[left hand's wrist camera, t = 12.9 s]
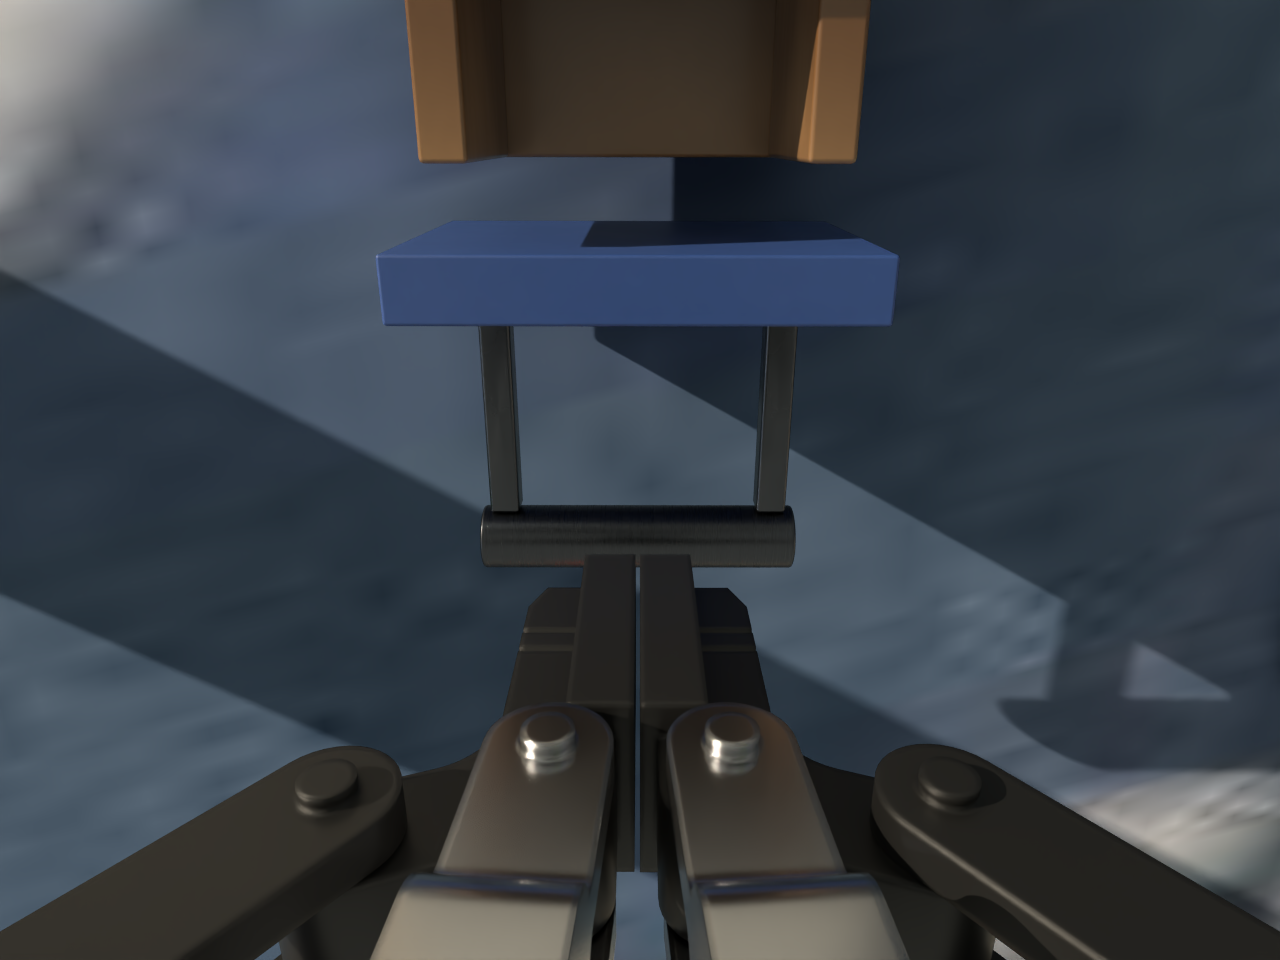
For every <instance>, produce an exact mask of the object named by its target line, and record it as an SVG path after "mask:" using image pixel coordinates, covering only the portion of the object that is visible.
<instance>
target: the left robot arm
mask: <svg viewBox="0 0 1280 960" xmlns="http://www.w3.org/2000/svg"><path fill="white" fill-rule="evenodd" d="M635 724H636V554H586V555H585V560H584V568H583V575H582V583H581V588H547V589H546V590H545V591H544V592H543V593H542V594H541V595H540V596H539V597H538V598H537V599H536V600H535V601H534V602H533V603H532V604H531V605H530V606H529V608H528V612H527V616H526V620H525V625H524V633H522V637H521V641H520V646H519V651H518V654H517V658H516V662H515V667H514V671H513V675H512V679H511V684H510V688H509V692H508V696H507V700H506V705H505V709H504V713H503V717H502V718H500V719H499V720H498V721H497V722H495V723H494V724H493V725H492V726H491V728H490V729H489V730H488V731H487V733H486V735H485V737H484V739H483V742H482V745H481V747H480V749H479V750H478V751H476V752H475V753H473V754H472V755H470V756H468V757H466V758H464V759H462V760H460V761H458V762H455V763H453V764H450V765H447V766H444V767H440V768H437V769H433V770H428V771H424V772H420V773H415V774H411V775H407V776H402V775H401V772H400V769H399V767H398V765H397V764H396V762H395V761H394V760H393V759H392V758H391V757H389V756H388V755H387V754H385V753H383V752H381V751H379V750H375V749H372V748H368V747H362V746H340V747H333V748H327V749H323V750H319V751H316V752H312V753H310V754H307V755H305V756H302V757H300V758H298V759H296V760H294V761H292V762H290V763H288V764H287V765H285V766H283V767H282V768H280V769H278V770H276V771H275V772H273V773H271V774H270V775H268V776H266V777H264V778H263V779H261V780H259V781H258V782H256V783H254V784H252V785H251V786H249V787H247V788H246V789H244V790H242V791H240V792H239V793H237V794H235V795H234V796H232V797H230V798H228V799H227V800H225V801H223V802H222V803H220V804H218V805H216V806H215V807H213V808H211V809H210V810H208V811H206V812H204V813H203V814H201V815H199V816H198V817H196V818H194V819H192V820H191V821H189V822H187V823H186V824H184V825H182V826H180V827H179V828H177V829H175V830H174V831H172V832H170V833H168V834H167V835H165V836H163V837H162V838H160V839H158V840H156V841H155V842H153V843H151V844H150V845H148V846H146V847H144V848H143V849H141V850H139V851H138V852H136V853H134V854H132V855H131V856H129V857H127V858H126V859H124V860H122V861H120V862H119V863H117V864H115V865H114V866H112V867H110V868H108V869H107V870H105V871H103V872H102V873H100V874H98V875H96V876H95V877H93V878H91V879H90V880H88V881H86V882H84V883H83V884H81V885H79V886H78V887H76V888H74V889H72V890H71V891H69V892H67V893H66V894H64V895H62V896H60V897H59V898H57V899H55V900H54V901H52V902H50V903H48V904H47V905H45V906H43V907H42V908H40V909H38V910H36V911H35V912H33V913H31V914H30V915H28V916H26V917H24V918H23V919H21V920H19V921H18V922H16V923H14V924H12V925H11V926H9V927H7V928H6V929H4V930H2V931H0V960H255V959H256V958H257V957H259V956H260V955H261V954H263V953H264V952H265V951H267V950H268V949H269V948H271V947H272V946H273V945H275V944H276V943H277V942H279V945H280V950H281V955H280V956H278V957H277V958H276V959H274V960H613V959H614V951H615V942H616V875H617V872H634V853H635ZM640 872H658V900H659V907H660V910H661V912H662V915H663V917H664V942H665V951H666V959H667V960H1006V959H1004V958H1003V957H1002V956H1000V955H999V954H998V953H996V952H995V951H994V950H993V947H994V942H995V938H997V939H998V940H1000V941H1001V942H1003V943H1004V944H1005V945H1007V946H1008V947H1009V948H1011V949H1012V950H1013V951H1015V952H1016V953H1017V954H1019V955H1020V956H1021V957H1023V958H1024V959H1025V960H1280V931H1278V930H1276V929H1274V928H1273V927H1271V926H1269V925H1268V924H1266V923H1264V922H1262V921H1261V920H1259V919H1257V918H1256V917H1254V916H1252V915H1250V914H1249V913H1247V912H1245V911H1244V910H1242V909H1240V908H1238V907H1237V906H1235V905H1233V904H1232V903H1230V902H1228V901H1226V900H1225V899H1223V898H1221V897H1220V896H1218V895H1216V894H1214V893H1213V892H1211V891H1209V890H1208V889H1206V888H1204V887H1202V886H1201V885H1199V884H1197V883H1196V882H1194V881H1192V880H1190V879H1189V878H1187V877H1185V876H1184V875H1182V874H1180V873H1178V872H1177V871H1175V870H1173V869H1172V868H1170V867H1168V866H1166V865H1165V864H1163V863H1161V862H1160V861H1158V860H1156V859H1154V858H1153V857H1151V856H1149V855H1148V854H1146V853H1144V852H1142V851H1141V850H1139V849H1137V848H1136V847H1134V846H1132V845H1130V844H1129V843H1127V842H1125V841H1124V840H1122V839H1120V838H1118V837H1117V836H1115V835H1113V834H1112V833H1110V832H1108V831H1106V830H1105V829H1103V828H1101V827H1100V826H1098V825H1096V824H1094V823H1093V822H1091V821H1089V820H1088V819H1086V818H1084V817H1082V816H1081V815H1079V814H1077V813H1076V812H1074V811H1072V810H1070V809H1069V808H1067V807H1065V806H1064V805H1062V804H1060V803H1058V802H1057V801H1055V800H1053V799H1052V798H1050V797H1048V796H1046V795H1045V794H1043V793H1041V792H1040V791H1038V790H1036V789H1034V788H1033V787H1031V786H1029V785H1028V784H1026V783H1024V782H1022V781H1021V780H1019V779H1017V778H1015V777H1014V776H1012V775H1010V774H1009V773H1007V772H1005V771H1003V770H1002V769H1000V768H998V767H997V766H995V765H993V764H991V763H990V762H988V761H986V760H984V759H982V758H980V757H978V756H977V755H974V754H972V753H969V752H967V751H964V750H961V749H957V748H954V747H949V746H944V745H936V744H916V745H910V746H905V747H902V748H899V749H896V750H894V751H892V752H890V753H889V754H888V755H886V756H885V757H884V758H883V759H882V760H881V762H880V763H879V764H878V767H877V769H876V772H875V778H874V777H870V776H866V775H861V774H857V773H853V772H848V771H844V770H840V769H836V768H832V767H829V766H825V765H823V764H820V763H818V762H815V761H813V760H811V759H809V758H807V757H805V756H803V755H802V753H801V750H800V747H799V745H798V742H797V739H796V737H795V735H794V733H793V731H792V730H791V729H790V728H789V726H788V725H787V724H786V723H785V722H783V721H782V720H781V719H780V718H778V717H777V716H775V715H774V714H772V713H771V712H770V707H769V703H768V698H767V694H766V690H765V685H764V681H763V676H762V672H761V668H760V663H759V659H758V654H757V651H756V646H755V641H754V637H753V633H752V628H751V624H750V619H749V615H748V610H747V607H746V606H745V605H744V604H743V603H742V602H741V601H740V600H739V599H738V598H737V597H736V596H735V595H734V594H733V593H732V592H731V591H730V590H729V589H728V588H694V581H693V572H692V564H691V556H690V554H640Z"/></svg>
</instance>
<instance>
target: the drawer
mask: <svg viewBox="0 0 1280 960" xmlns="http://www.w3.org/2000/svg"><path fill="white" fill-rule="evenodd" d="M870 7H871V0H405V9H406V21H407V32H408V43H409V54H410V65H411V77H412V88H413V99H414V110H415V122H416V133H417V144H418V155H419V160H420V162H422V163H470V162H477V161H483V160H490V159H496V158H503V157H772V158H779V159H785V160H791V161H797V162H804V163H810V164H852V163H855V161H856V159H857V152H858V141H859V130H860V119H861V108H862V97H863V85H864V74H865V63H866V52H867V41H868V30H869V19H870ZM899 264H900V257H899V255H896V254H894V253H892V252H890V251H888V250H886V249H883V248H881V247H879V246H877V245H875V244H872V243H870V242H868V241H866V240H864V239H862V238H859V237H857V236H855V235H853V234H851V233H849V232H846V231H844V230H842V229H840V228H838V227H836V226H833V225H831V224H829V223H827V222H825V221H451V222H449V223H447V224H444V225H442V226H440V227H438V228H436V229H433V230H431V231H429V232H427V233H424V234H422V235H420V236H418V237H416V238H413V239H411V240H409V241H407V242H404V243H402V244H400V245H398V246H396V247H393V248H391V249H389V250H387V251H384V252H382V253H380V254H378V255H376V266H377V275H378V284H379V293H380V302H381V311H382V320H383V324H384V325H386V326H478V328H479V343H480V357H481V371H482V386H483V400H484V415H485V429H486V443H487V458H488V472H489V487H490V501H491V505H487V506H485V508H484V510H483V514H482V519H481V529H480V547H481V556H482V561H483V564H484V566H486V567H584V560H585V555H586V554H636V567H640V554H690V556H691V564H692V567H791V566H792V564H793V561H794V555H795V543H796V533H795V520H794V514H793V511H792V508H791V507H790V506H788V505H785V500H786V486H787V472H788V458H789V443H790V429H791V415H792V401H793V387H794V372H795V358H796V344H797V330H798V327H889V326H892V324H893V317H894V308H895V299H896V291H897V282H898V273H899ZM513 326H763V334H762V352H761V370H760V388H759V406H758V425H757V443H756V461H755V479H754V497H753V501H754V504H755V505H521V504H522V501H523V497H522V478H521V460H520V441H519V423H518V404H517V386H516V367H515V349H514V330H513Z"/></svg>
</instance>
